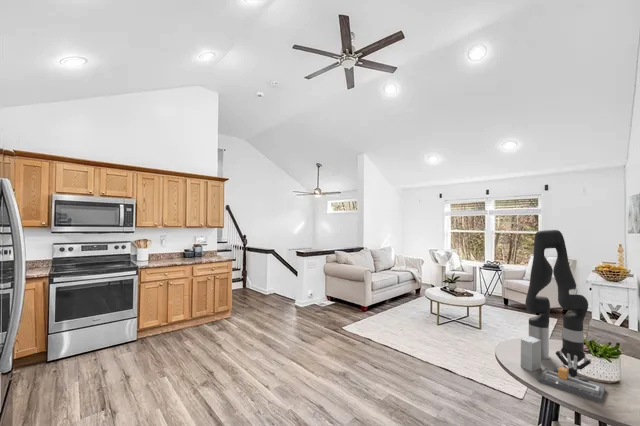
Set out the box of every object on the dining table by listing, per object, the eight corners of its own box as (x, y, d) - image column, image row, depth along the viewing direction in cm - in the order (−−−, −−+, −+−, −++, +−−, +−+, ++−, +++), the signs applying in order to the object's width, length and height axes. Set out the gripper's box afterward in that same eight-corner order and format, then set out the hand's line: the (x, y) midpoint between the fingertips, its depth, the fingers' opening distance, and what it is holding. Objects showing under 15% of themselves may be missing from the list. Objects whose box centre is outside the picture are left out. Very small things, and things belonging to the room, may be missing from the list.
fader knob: (560, 377, 144) (560, 365, 144) (568, 380, 142) (568, 368, 142) (558, 381, 141) (558, 369, 141) (566, 383, 139) (566, 371, 139)
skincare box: (529, 363, 162) (529, 335, 162) (541, 368, 156) (542, 339, 156) (519, 366, 158) (520, 338, 158) (532, 372, 153) (532, 342, 153)
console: (545, 371, 154) (545, 363, 154) (605, 390, 137) (605, 382, 137) (538, 381, 144) (538, 373, 144) (600, 403, 128) (600, 394, 128)
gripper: (593, 340, 136) (593, 379, 136) (556, 332, 146) (556, 368, 146) (591, 345, 131) (590, 385, 131) (553, 336, 141) (553, 373, 141)
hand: (572, 376), depth 139 cm, fingers closed
